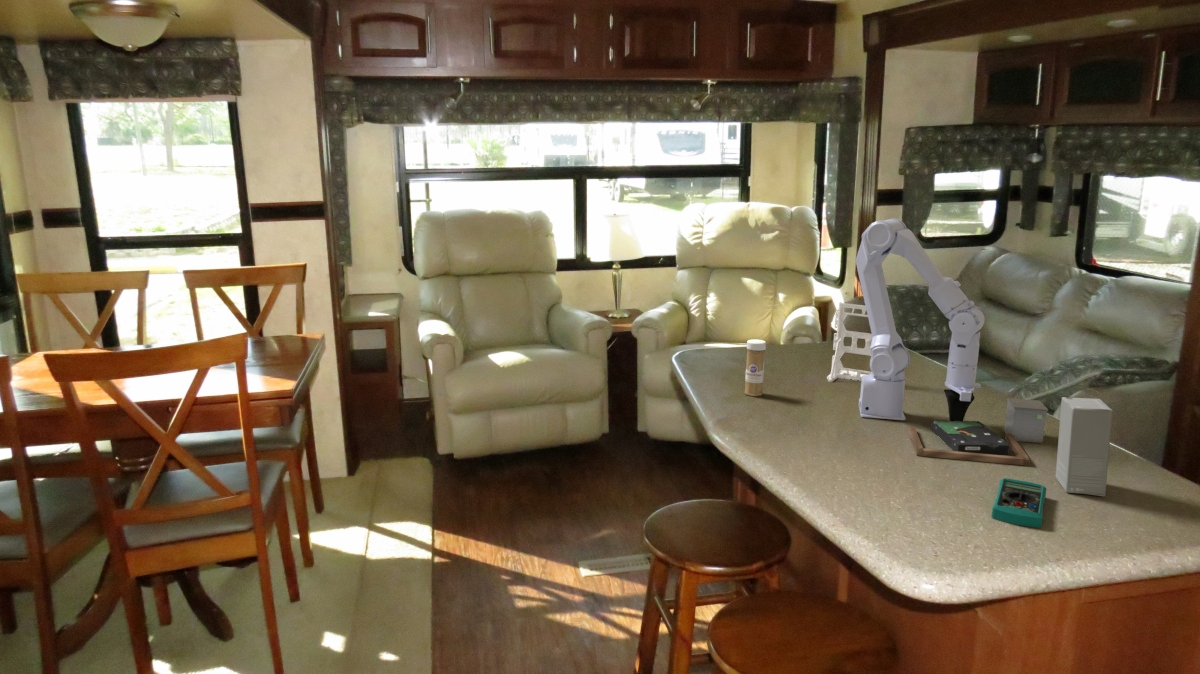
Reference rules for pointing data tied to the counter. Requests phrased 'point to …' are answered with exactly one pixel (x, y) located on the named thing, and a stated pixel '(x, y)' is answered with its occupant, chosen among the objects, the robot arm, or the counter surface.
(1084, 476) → the skincare box
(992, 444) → the disk drive
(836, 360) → the white open rack frame
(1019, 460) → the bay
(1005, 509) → the digital multimeter
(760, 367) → the sprinkles bottle
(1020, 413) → the junction box
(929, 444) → the counter surface
